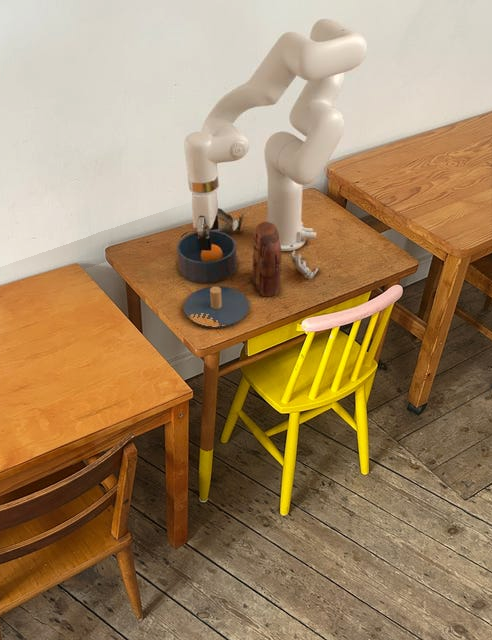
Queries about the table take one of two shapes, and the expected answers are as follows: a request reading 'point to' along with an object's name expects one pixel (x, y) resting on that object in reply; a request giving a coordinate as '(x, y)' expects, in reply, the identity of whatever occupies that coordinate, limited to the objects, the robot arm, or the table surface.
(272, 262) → the wooden figurine
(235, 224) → the eagle figurine
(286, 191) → the robot arm
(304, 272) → the soldier figure
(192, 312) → the pan lid
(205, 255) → the orange ball
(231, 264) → the dark blue round container
